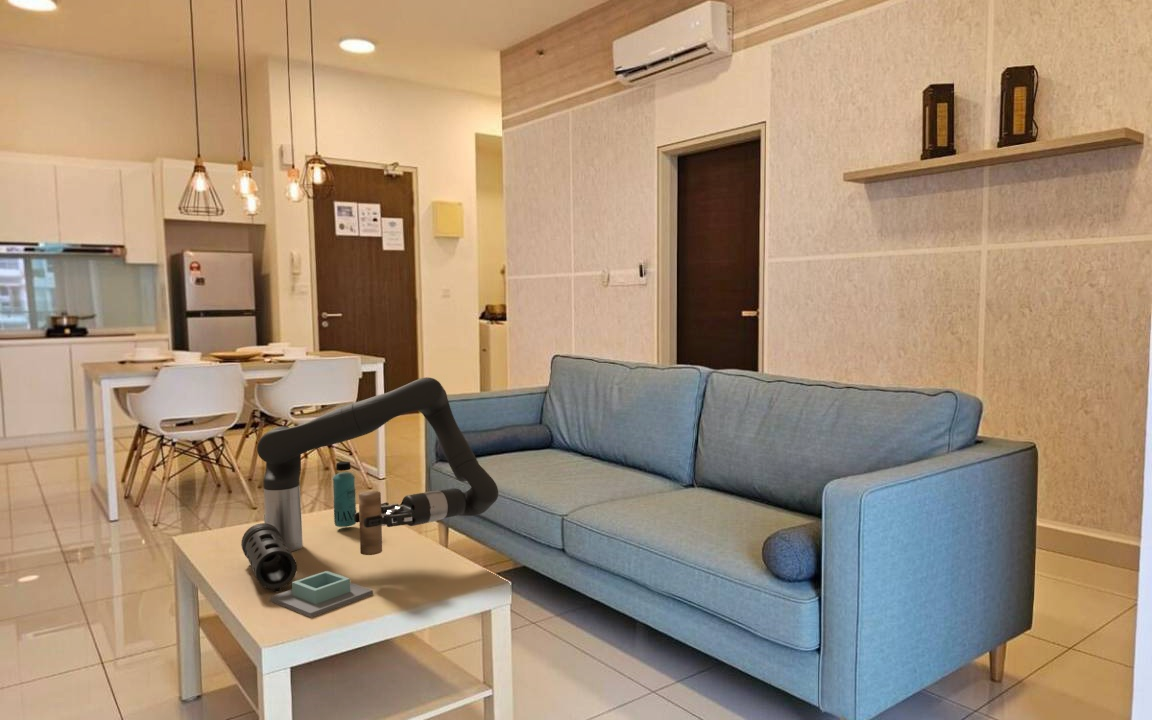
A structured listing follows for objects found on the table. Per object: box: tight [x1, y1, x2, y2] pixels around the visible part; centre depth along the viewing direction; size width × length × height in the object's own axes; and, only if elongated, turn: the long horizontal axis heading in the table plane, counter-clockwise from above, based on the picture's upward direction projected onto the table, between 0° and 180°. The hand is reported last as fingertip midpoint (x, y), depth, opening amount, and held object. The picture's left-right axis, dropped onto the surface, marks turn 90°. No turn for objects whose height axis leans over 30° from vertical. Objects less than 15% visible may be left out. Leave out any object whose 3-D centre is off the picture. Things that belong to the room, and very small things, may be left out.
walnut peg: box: [358, 490, 383, 556], centre depth 183 cm, size 5×5×14 cm
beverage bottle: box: [332, 461, 357, 528], centre depth 229 cm, size 6×7×20 cm
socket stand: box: [269, 570, 374, 619], centre depth 175 cm, size 16×16×4 cm
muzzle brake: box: [240, 523, 298, 593], centre depth 191 cm, size 10×28×10 cm, turn 29°
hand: (360, 520), depth 181 cm, fingers closed on walnut peg, 5 cm apart
